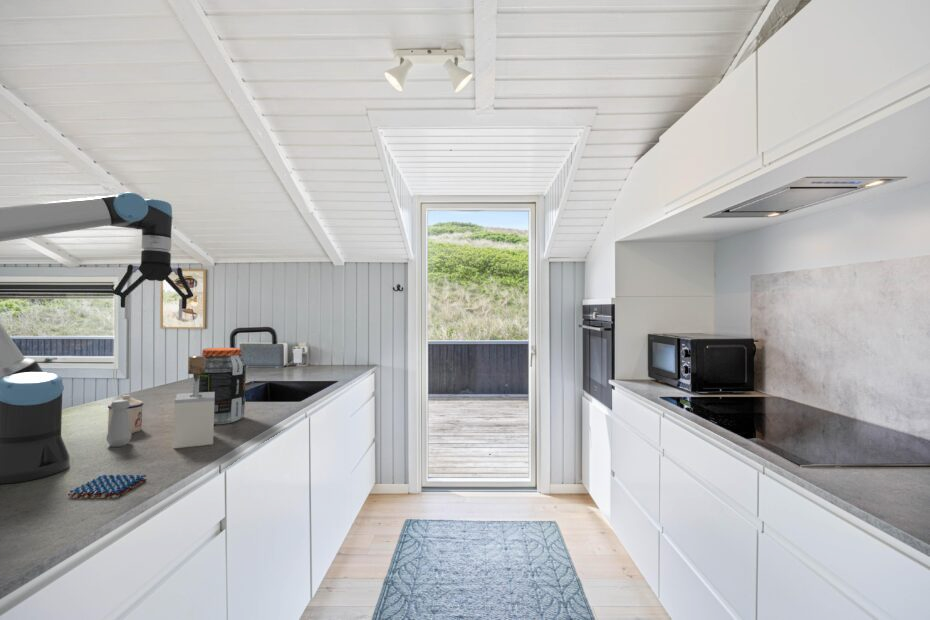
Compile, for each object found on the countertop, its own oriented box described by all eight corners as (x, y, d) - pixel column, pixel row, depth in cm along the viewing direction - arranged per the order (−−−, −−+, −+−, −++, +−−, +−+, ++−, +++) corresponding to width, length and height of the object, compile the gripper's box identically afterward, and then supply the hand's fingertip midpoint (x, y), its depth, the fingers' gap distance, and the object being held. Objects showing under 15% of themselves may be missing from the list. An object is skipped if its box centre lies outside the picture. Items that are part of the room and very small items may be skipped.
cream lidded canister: (142, 432, 141) (143, 396, 141) (105, 437, 135) (107, 399, 135) (142, 424, 150) (143, 390, 150) (108, 427, 145) (109, 392, 145)
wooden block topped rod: (179, 440, 129) (182, 358, 129) (181, 433, 135) (183, 355, 135) (207, 437, 132) (210, 357, 132) (208, 431, 139) (210, 355, 139)
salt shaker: (102, 445, 127) (103, 400, 127) (125, 440, 132) (126, 397, 132) (112, 449, 125) (113, 403, 125) (135, 443, 130) (136, 399, 130)
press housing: (173, 448, 127) (174, 400, 127) (176, 439, 136) (177, 393, 136) (213, 444, 132) (214, 397, 132) (213, 435, 140) (214, 391, 140)
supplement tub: (253, 419, 161) (255, 349, 161) (209, 428, 148) (211, 351, 148) (229, 412, 170) (231, 346, 170) (185, 420, 156) (187, 348, 156)
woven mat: (101, 481, 103) (101, 473, 103) (148, 482, 104) (148, 473, 104) (64, 501, 93) (64, 491, 93) (117, 501, 94) (117, 491, 94)
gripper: (102, 245, 127) (100, 318, 127) (202, 253, 139) (200, 320, 139) (108, 248, 133) (105, 318, 134) (203, 255, 146) (201, 319, 146)
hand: (154, 319), depth 136 cm, fingers open, 13 cm apart
